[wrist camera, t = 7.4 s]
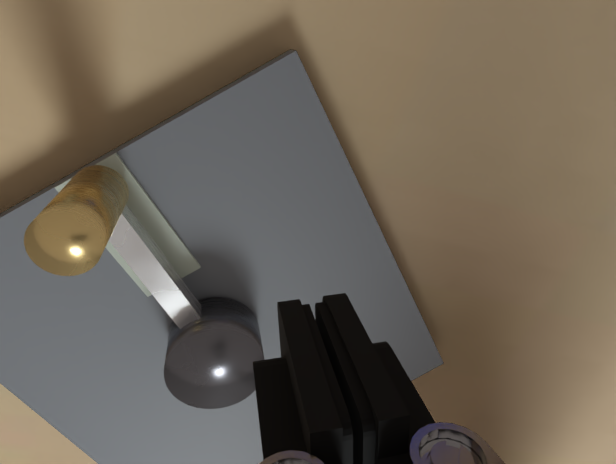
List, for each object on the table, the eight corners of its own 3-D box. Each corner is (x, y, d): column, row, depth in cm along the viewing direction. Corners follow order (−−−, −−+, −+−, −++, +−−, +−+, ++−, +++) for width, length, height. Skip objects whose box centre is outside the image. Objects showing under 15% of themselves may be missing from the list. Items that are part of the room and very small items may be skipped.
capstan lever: (274, 344, 26) (292, 428, 20) (199, 383, 26) (197, 477, 21) (135, 138, 20) (106, 180, 14) (37, 190, 20) (-29, 252, 14)
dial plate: (433, 349, 31) (446, 366, 30) (163, 495, 32) (161, 520, 30) (290, 49, 21) (297, 50, 20) (-99, 269, 22) (-124, 288, 20)
